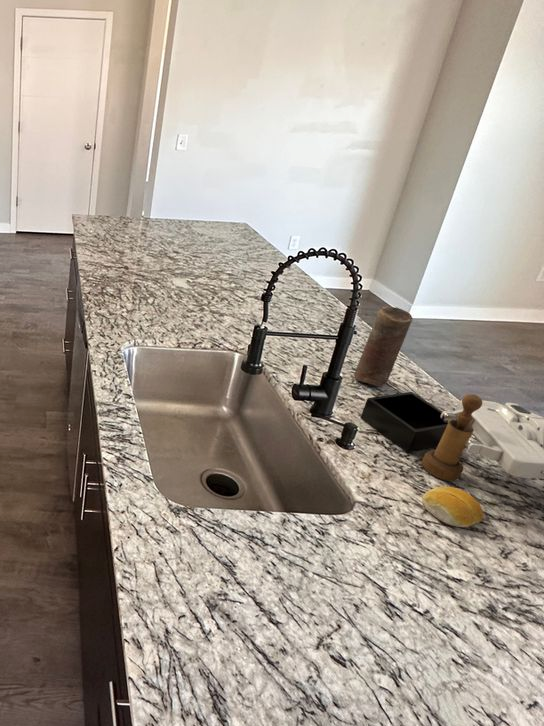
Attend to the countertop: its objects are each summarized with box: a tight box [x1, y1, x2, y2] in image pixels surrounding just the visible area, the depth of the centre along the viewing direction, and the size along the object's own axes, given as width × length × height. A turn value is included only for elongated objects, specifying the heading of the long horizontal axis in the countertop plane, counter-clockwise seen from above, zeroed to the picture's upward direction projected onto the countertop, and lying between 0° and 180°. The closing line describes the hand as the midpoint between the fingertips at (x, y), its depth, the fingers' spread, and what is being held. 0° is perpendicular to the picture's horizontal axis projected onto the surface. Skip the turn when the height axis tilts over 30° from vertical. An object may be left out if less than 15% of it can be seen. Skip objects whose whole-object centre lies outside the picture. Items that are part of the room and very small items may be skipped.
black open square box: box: [360, 391, 448, 454], centre depth 119 cm, size 13×13×6 cm
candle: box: [353, 306, 413, 387], centre depth 135 cm, size 8×7×20 cm
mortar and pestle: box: [420, 393, 482, 482], centre depth 105 cm, size 7×6×18 cm
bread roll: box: [421, 486, 484, 528], centre depth 98 cm, size 8×9×4 cm
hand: (454, 430), depth 105 cm, fingers open, 8 cm apart
